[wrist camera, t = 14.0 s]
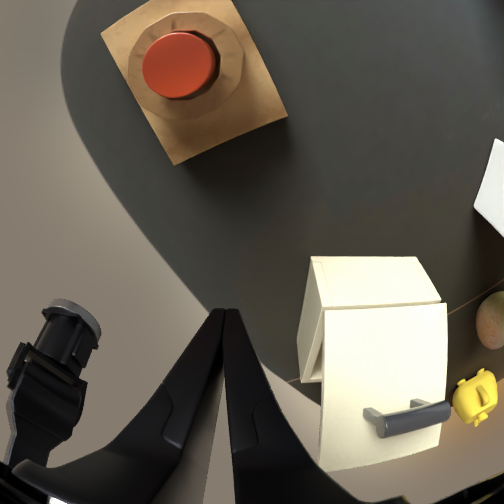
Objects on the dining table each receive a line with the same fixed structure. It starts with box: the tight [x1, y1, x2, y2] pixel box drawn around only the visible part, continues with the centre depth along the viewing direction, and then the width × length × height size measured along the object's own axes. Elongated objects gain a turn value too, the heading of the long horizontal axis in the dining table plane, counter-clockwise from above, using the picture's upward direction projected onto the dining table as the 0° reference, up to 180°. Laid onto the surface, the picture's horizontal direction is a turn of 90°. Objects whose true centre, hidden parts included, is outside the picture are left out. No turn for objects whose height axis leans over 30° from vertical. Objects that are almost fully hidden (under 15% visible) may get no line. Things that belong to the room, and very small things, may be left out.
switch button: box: [142, 32, 216, 98], centre depth 12 cm, size 4×4×2 cm
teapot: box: [452, 368, 497, 427], centre depth 40 cm, size 18×11×11 cm, turn 30°
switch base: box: [101, 0, 288, 166], centre depth 14 cm, size 11×8×4 cm
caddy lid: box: [317, 303, 451, 472], centre depth 15 cm, size 12×11×5 cm
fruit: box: [476, 291, 504, 349], centre depth 25 cm, size 8×7×8 cm
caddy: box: [297, 256, 441, 383], centre depth 25 cm, size 12×11×6 cm
